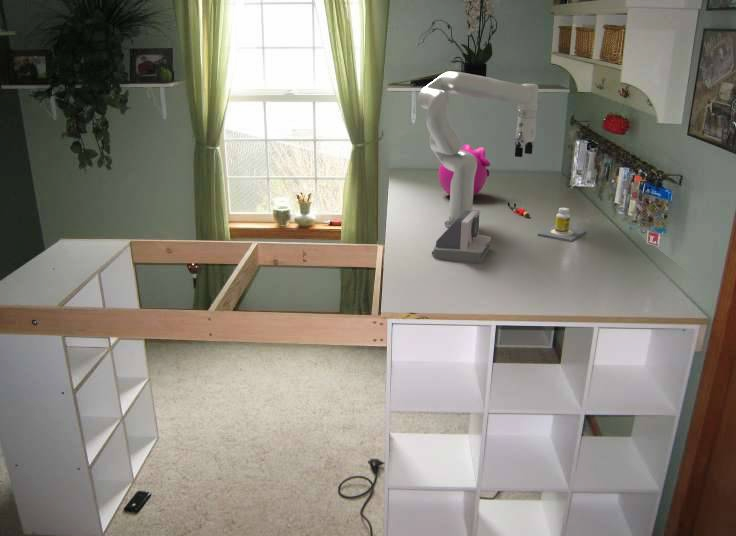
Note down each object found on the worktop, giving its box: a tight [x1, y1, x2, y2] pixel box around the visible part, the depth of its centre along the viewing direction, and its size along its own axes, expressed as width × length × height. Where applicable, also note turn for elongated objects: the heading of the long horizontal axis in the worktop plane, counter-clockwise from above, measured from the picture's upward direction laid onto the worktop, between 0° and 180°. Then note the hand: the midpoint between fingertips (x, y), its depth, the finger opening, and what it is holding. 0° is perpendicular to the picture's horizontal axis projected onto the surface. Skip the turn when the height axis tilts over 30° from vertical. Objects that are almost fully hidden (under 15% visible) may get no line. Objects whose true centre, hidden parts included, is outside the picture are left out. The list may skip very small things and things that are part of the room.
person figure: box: [507, 202, 531, 219], centre depth 300 cm, size 5×4×18 cm
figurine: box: [438, 143, 491, 197], centre depth 324 cm, size 23×24×25 cm
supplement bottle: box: [554, 207, 571, 234], centre depth 267 cm, size 5×5×10 cm
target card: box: [537, 224, 587, 243], centre depth 269 cm, size 16×14×1 cm
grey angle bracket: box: [431, 209, 492, 264], centre depth 243 cm, size 21×21×15 cm
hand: (523, 155), depth 281 cm, fingers open, 9 cm apart
